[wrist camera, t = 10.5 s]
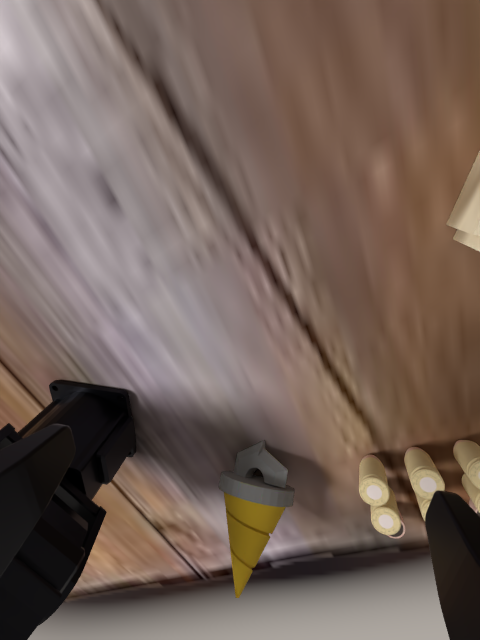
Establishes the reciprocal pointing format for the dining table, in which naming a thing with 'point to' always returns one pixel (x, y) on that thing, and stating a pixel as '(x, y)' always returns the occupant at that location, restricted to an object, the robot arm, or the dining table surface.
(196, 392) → the dining table surface
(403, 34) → the dining table surface
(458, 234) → the v block
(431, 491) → the ammunition
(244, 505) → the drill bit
